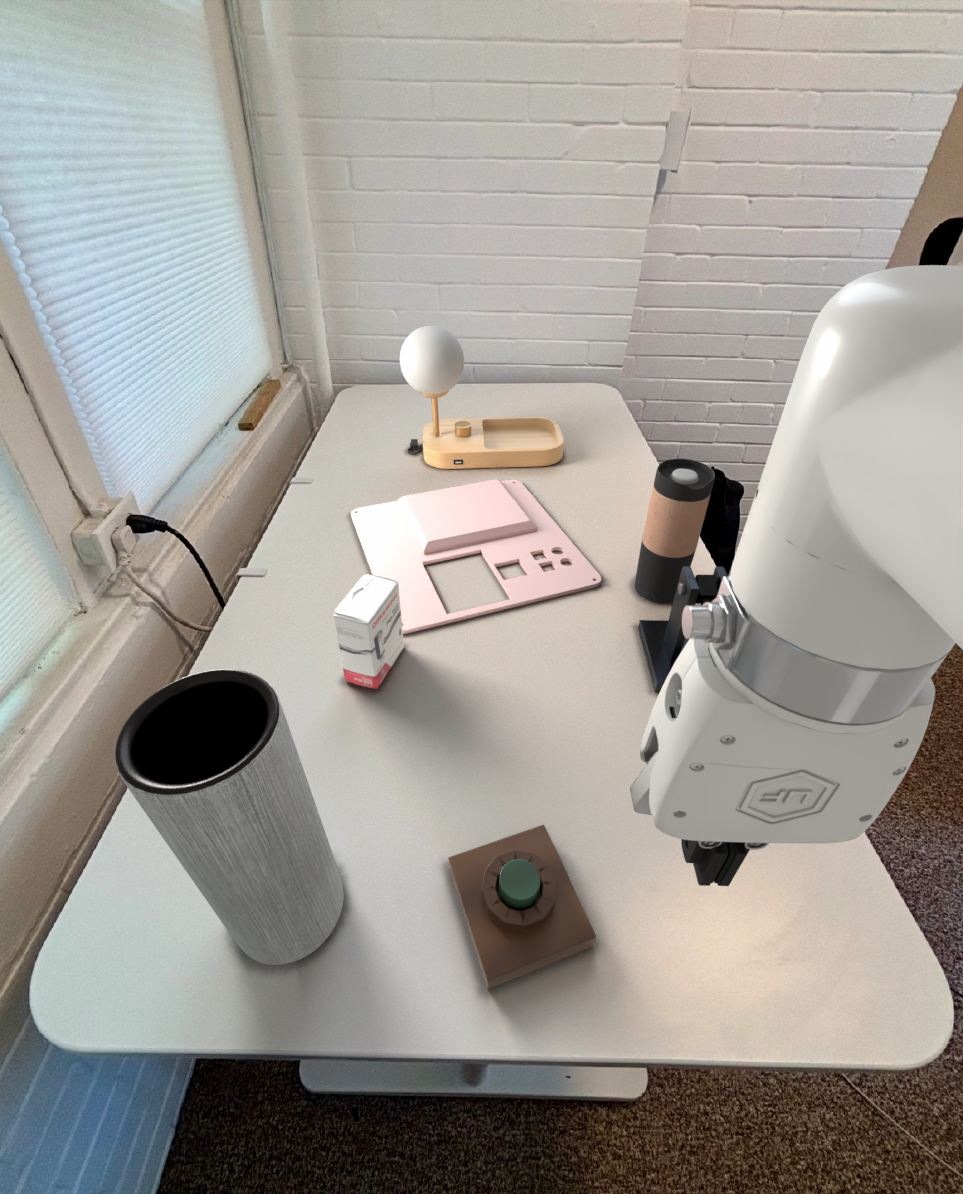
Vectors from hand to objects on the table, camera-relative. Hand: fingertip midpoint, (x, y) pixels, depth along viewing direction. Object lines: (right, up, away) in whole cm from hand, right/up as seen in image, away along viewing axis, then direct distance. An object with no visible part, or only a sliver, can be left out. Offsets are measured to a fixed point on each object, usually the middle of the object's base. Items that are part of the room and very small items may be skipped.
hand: (705, 860), depth 35 cm
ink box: (-27, +6, +44) cm, 52 cm away
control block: (-10, -13, +20) cm, 26 cm away
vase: (-31, -14, +20) cm, 40 cm away
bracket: (+14, +7, +45) cm, 47 cm away
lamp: (-13, +47, +93) cm, 105 cm away
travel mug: (+14, +17, +56) cm, 60 cm away
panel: (-16, +24, +65) cm, 71 cm away
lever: (+14, +10, +35) cm, 39 cm away
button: (-10, -10, +18) cm, 23 cm away
